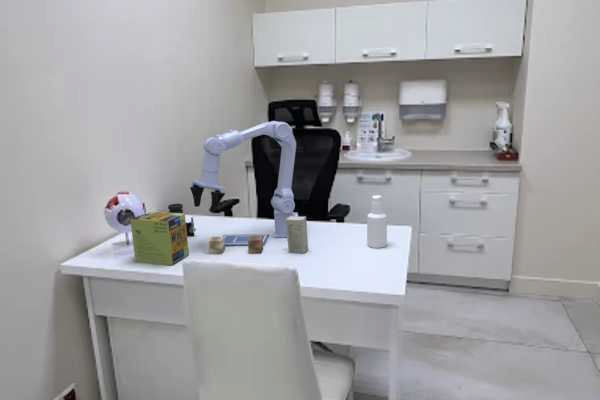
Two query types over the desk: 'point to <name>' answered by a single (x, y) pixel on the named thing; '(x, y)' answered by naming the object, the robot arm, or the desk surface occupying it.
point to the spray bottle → (376, 224)
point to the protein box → (159, 237)
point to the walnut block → (255, 244)
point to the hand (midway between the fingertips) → (205, 208)
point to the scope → (178, 209)
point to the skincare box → (297, 234)
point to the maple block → (217, 245)
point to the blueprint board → (242, 239)
